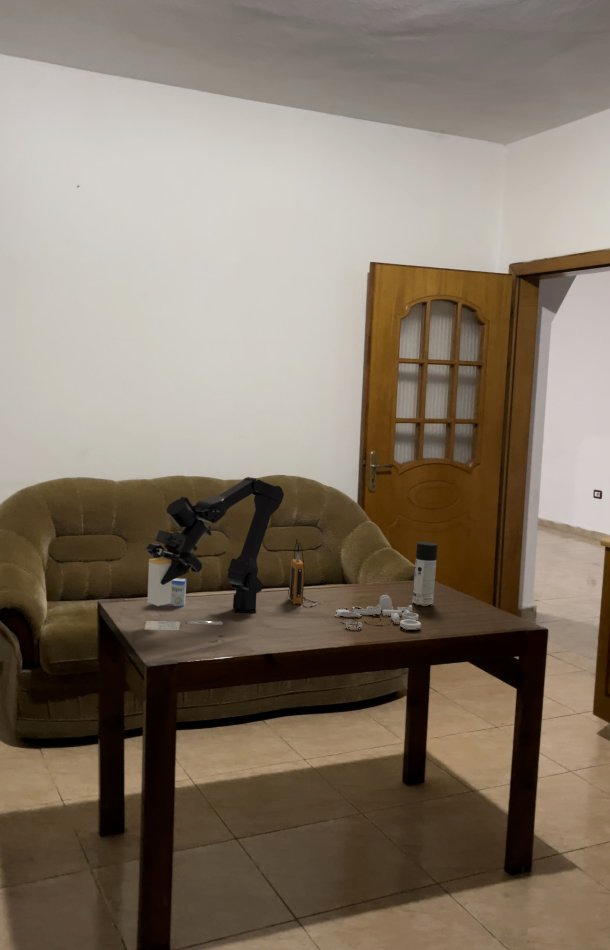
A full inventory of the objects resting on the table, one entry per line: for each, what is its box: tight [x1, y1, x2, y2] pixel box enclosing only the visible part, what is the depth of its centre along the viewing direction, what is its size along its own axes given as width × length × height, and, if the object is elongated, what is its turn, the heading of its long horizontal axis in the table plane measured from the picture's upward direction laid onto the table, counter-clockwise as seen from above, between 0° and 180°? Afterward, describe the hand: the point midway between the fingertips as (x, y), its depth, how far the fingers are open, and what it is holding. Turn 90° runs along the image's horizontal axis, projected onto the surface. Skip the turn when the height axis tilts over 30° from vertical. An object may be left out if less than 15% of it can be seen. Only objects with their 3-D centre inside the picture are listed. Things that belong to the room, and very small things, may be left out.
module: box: [147, 557, 172, 607], centre depth 239 cm, size 4×4×12 cm
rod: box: [186, 620, 224, 626], centre depth 245 cm, size 10×2×2 cm, turn 96°
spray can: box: [411, 541, 438, 605], centre depth 284 cm, size 7×7×20 cm
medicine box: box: [159, 577, 187, 607], centre depth 263 cm, size 8×4×9 cm, turn 93°
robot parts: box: [334, 594, 422, 629], centre depth 263 cm, size 25×25×5 cm
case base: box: [144, 620, 181, 631], centre depth 241 cm, size 11×10×1 cm
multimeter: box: [287, 538, 324, 608], centre depth 278 cm, size 15×10×20 cm
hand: (156, 582), depth 238 cm, fingers closed on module, 4 cm apart
